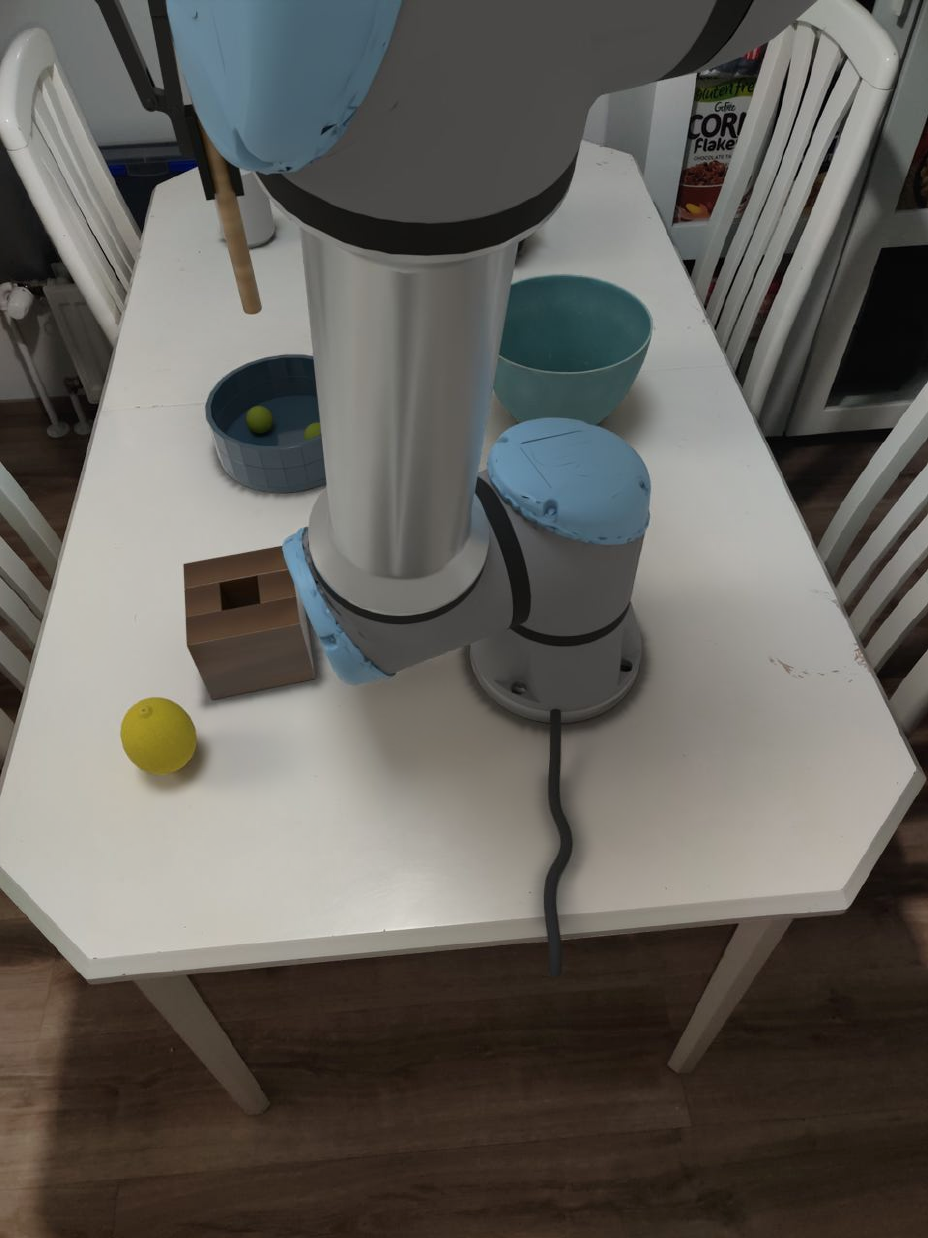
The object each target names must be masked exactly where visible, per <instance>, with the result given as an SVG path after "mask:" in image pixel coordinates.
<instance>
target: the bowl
mask: <svg viewBox="0 0 928 1238" xmlns="http://www.w3.org/2000/svg"><path fill="white" fill-rule="evenodd" d="M255 406H262V407H265V408H267V409H268V410H269V411H270V412H271V414H272V416H273V425H272V427H271V429H270V430H269V431H268V432H266V433H263V434H257V433H254V432H252V431H251V430H250V429H249V428H248V426H247V424H246V414H247V412H248V411H249V410H250V409H251V408H253V407H255ZM204 410H205V421H206V423H207V426H208V429H209V432H210V435H211V438H212V441H213V445H214V447H215V450H216V454H217V456H218V459H219V461H220V463H221V466H222V468H223V469H224V471H225V472H226V473H227V475H228V476H230V477H231V479H233V480H234V481H236V482H237V483H238V484H241V485H243V486H244V487H247V488H249V489H252V490H254V491H255V490H256V491H260V492H264V493H273V494H274V493H275V494H286V493H288V494H289V493H297V492H303V491H307V490H311V489H315V488H317V487H320V486H323V485H325V484H327V482H326V473H325V463H324V454H323V444H322V435H321V434H320V435H319V436H317V437H314V438H311V439H308V440H305V438H304V434H305V430H306V429H307V427H308V426H309V425H311V424H312V423H316V422H319V423H320V416H319V406H318V396H317V387H316V377H315V368H314V358H313V355H310V354H305V353H304V354H303V353H297V354H296V353H286V354H285V353H284V354H278V355H272V356H265V357H262V358H258V359H255V360H252V361H250V362H245V364H242V365H240V366H238V367H237V368H234V369H233V370H231V371H230V372H228V373H227V374H226V375H224V376H223V377H222V378H221V379H220V380H218V381H217V383H215V385H214V386H213V388H212V389H211V390H210V392H209V393H208V396H207V399H206V402H205V405H204Z"/></svg>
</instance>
